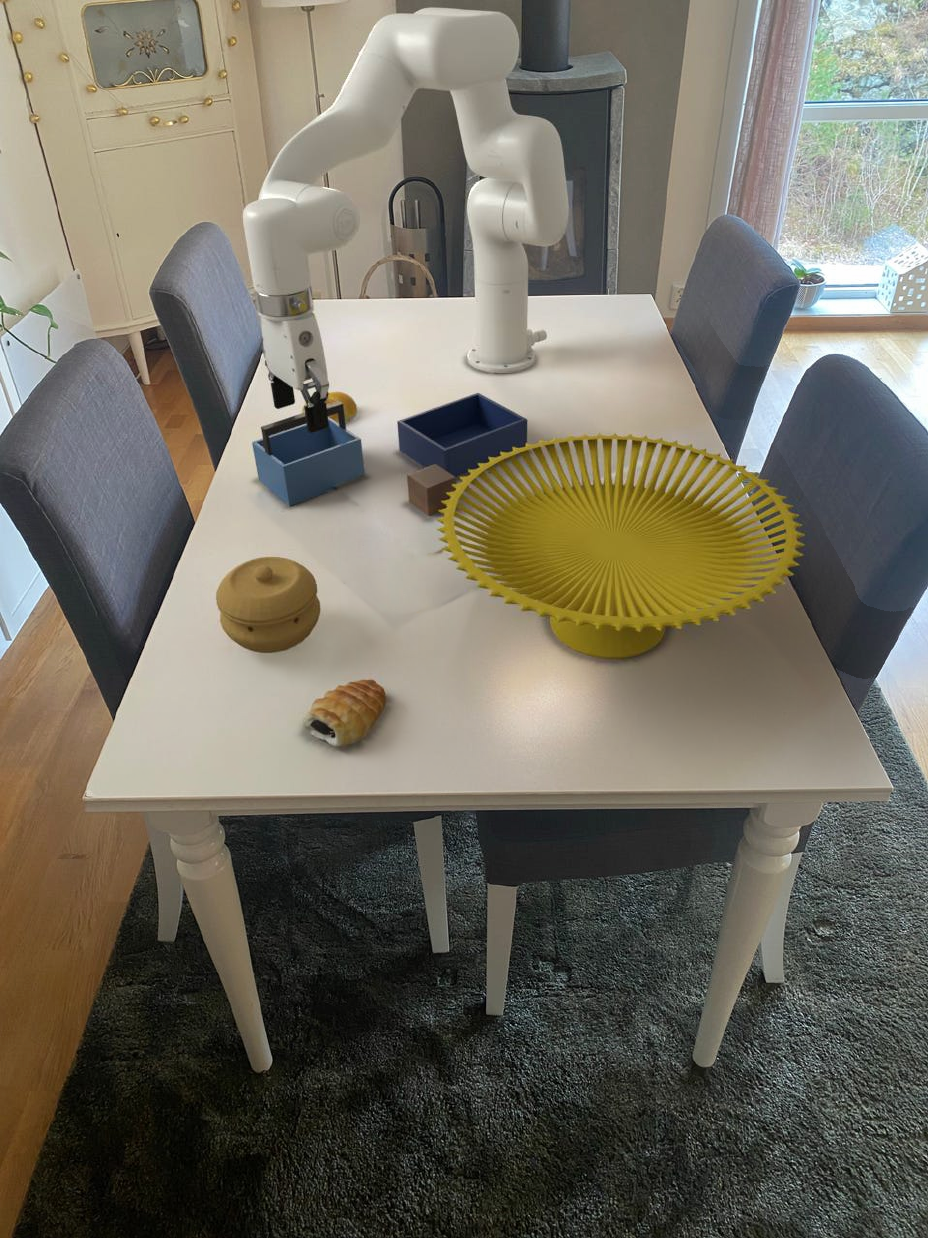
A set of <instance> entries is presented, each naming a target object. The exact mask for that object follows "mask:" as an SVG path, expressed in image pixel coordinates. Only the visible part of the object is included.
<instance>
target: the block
mask: <svg viewBox="0 0 928 1238" xmlns="http://www.w3.org/2000/svg"><path fill="white" fill-rule="evenodd" d="M406 481H407V482H406V483H407V493H408V503H410V504H411V505H413V506H414V507H415V508H417V509H418V510H419V511H421V513H423V514H425V515H427V517H430V516H433V515H435V514H436V513H440V512H439V511H438V510H442V509H445V508H447V506H446V505H445V504H443V503H442V502H441V501H445V500H449V499H450V498H451V497H450V496H449V495H447V493H446V492H454V491H455V490H456V488H454V487H453V486H452V484H457V477H455V476H453V475H452V474H450V473H449V472H447V471H446V470H444V469H443V468H441V467H439V466H438V465H436V464H434V465H431V466H429V467H426V468H425V467H424V468H421V469H418V470H415V471H413V472H411V473H408V474H406Z"/></svg>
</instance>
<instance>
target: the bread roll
mask: <svg viewBox="0 0 928 1238" xmlns="http://www.w3.org/2000/svg"><path fill="white" fill-rule="evenodd" d="M328 393H329V394H328V398H327V400H328V401H327V403H326V405H329V404H332V403H335V402H338V401H340V402H341V403H343V406H344V415H345V423H347V422H350V421H352V420H353V419H354V418H356V416H357V412H358V406H357V404H356V402H355V400H354V399H353V398H352V396H350V395H349V394H348V393H345V392H342V391H332V392H328ZM306 405H307V404H306V402H305V403H304V404H303V406H302V410H301V413H304V412H305V410H304V406H306ZM328 417H329V418H331V419H332V420H334V421H335V422H337V423H338V424H339V419H338V413H336V414H333V415H330V416H328Z"/></svg>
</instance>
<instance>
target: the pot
mask: <svg viewBox="0 0 928 1238" xmlns="http://www.w3.org/2000/svg"><path fill="white" fill-rule="evenodd" d="M215 593H216V594H215V600H216V606H217V609H218V611H219V612H220V616H219V622H220V625H221V628H222V630H223V632H224V633H225V634H226V635H227V637H228V638H230V640H231V641H233V642H234V643H236V644H237V645H239V646H240V647H242V648H243V649H245V650H248V651H250V652H254V653H259V654H275V653H280V652H284V651H287V650H291V649H292V648H295V647H296V646H298V645H300V644H301V643H303V642H304V641H305V640H306V639H307V638H308V637H309V636H310V635H311V633H312V632H313V630H314V628H315V627H316V625H317V623H318V621H319V618H320V614H321V601H320V598H319V597H318V584H317V580H316V578H315V576H314V574H313V573H312V572H311V571H310V570H309V569H308V568H307V567H305V566H304V565H302V564H301V563H299V562H297V561H296V560H292V559H290V558H286V557H282V556H281V557H280V556H263V557H257V558H254V559H250V560H247V561H245V562H243V563H240V564H238V565H237V566H235V567H234V568H232V569H231V570H230V571H229V572H228V573H227V574H226V575H225V576H224V577H223V579H221V582H220V583H219V585H218V587H217V589H216V592H215Z"/></svg>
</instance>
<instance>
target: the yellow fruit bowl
mask: <svg viewBox="0 0 928 1238" xmlns="http://www.w3.org/2000/svg"><path fill="white" fill-rule="evenodd" d="M585 440H586V441H587V445H588V450H589V455H590V462H591V470H592V483H591V480H590V476H589V472H588V467H587V461H586V456H585V450H584V441H585ZM598 440H602V449H603V483H602V480H601V474H600V464H599V463H600V462H599V453H598V449H599V448H598ZM613 440H616V444H617V445H616V446H617V447H616V448H617V449H616V470H615V479H614V483H613V479H612V447H613ZM628 441H631V451H630V459H629V465H628V471H627V476H626V479H625V482H624V467H625V466H624V465H625V457H626V449H627V444H628ZM569 442H572V443H573V446H574V449H575V453H576V457H577V461H578V465H579V470H580V476H581V481H582V482H580V479H579V476H578V473H577V471H576V468H575V465H574V461H573V458H572V457H573V456H572V453H571V448H570V444H569ZM643 442H646V446H645V452H644V457H643V461H642V465H641V469H640V472H639V476H638V479H637V482H636V484H635V476H636V471H637V464H638V460H639V455H640V451H641V447H642V444H643ZM555 444H558V445H559V448H560V450H561V452H562V455H563V458H564V460H565V463H566V467H567V470H568V473H569V477H570V480H571V484H570V482H569V480H568V477H567V475H566V473H565V472H564V469H563V466H562V463H561V461H560V458H559V455H558V451H557V448H556V445H555ZM658 444H659V445H660V444H661V447H660V449H659V450H660V451H659V454H658V456H657V460H656V463H655V466H654V468H653V471H652V474H651V476H650V479H649V481H648V483H647V485H646V480H647V477H648V472H649V468H650V465H651V462H652V459H653V456H654V453H655V450H656V449H657V448H656V447H657V446H658ZM544 446H545V449H546V451H547V453H548V455H549V457H550V459H551V461H552V464H553V466H554V468H555V471H556V473H557V476H558V479H559V481H560V483H559V481H558V480H557V478H556V476H554V474H553V471H552V469H551V468H550V466H549V464H548V461H547V459H546V456H545V455H544V452H543V449H542V447H544ZM672 447H673V448H675V450H674V452H673V455H672V458H671V460H670V463H669V465H668V467H667V469H666V470H665V471H666V472H665V473H664V476H663V477H662V479H661V481H660V484H659V485H658V487H657V488H656V486H657V482H658V480H659V477H660V474H661V472H662V469H663V467H664V464H665V462H666V460H667V457H668V455H669V453H670V451H671V450H672ZM529 450H532V452H533V454H534V455H535V457H536V459H537V460H538V462H539V464H540V466H541V467H542V470H543V472H544V473H545V475H546V477H547V479H548V481H549V484H550V485H549V484H548V483H547V481H546V480H545V479H544V478H543V476H542V474H541V472H540V471H539V468H538V467H537V466H536V464H535V462H534V461H533V459H532V456H531V455H530V452H529ZM687 451H689V455H688V456H687V458H686V461H685V462H684V464H683V466H682V468H681V470H680V471H679V473H678V475H677V476H676V478H675V479H674V481H673V483H672V484H671V486H670V487H669V488H668V489H667V487H668V485H669V483H670V480H671V479H672V476H673V474H674V472H675V471H676V469H677V467H678V465H679V463H680V461H681V459H682V457H683V456H684V454H685V453H686V452H687ZM500 454H501V456H499V457H496V458H494V457H488V458H489V460H490V462H488V463H478V465H479V466H480V468H477V469H475V470H469V469H468V471H469V472H468V473H469V475H467V476H459V479H460V480H461V482H460V483H456V484H452V486H453V487H454V488H456V490H455V491H454V492H446V493H447V495H449V496H450V497H451V498H450V499H449V500H445V501H441V502H442V503H443V504H445V505H446V506H447V508H445V509H442V510H438V511H439V512H438V513H441V514H443V515H444V516H443V517H440V518H436V521H437V522H439V523H440V524H442V525H443V526H441V527H439V528H436V530H437V531H438V532H440V533H442V534H444V536H442V537H440V538H438V540H439V541H441V542H443V543H444V544H445V543H446V544H448V545H446V546H445V547H443V548H442V550H444V551H445V552H449V553H451V554H452V555H451V556H450V557H448V558H447V560H449V561H452V562H456V563H459V565H458V566H457V567H455V569H456V570H459V571H463V572H467V575H466V576H465V577H464V579H466V580H472V581H476V582H478V584H477V585H476V588H479V589H486V590H489V591H490V593H489V595H488V596H489V597H497V598H504V599H505V601H504V604H505V605H518V606H520V607H521V608H520V610H519V611H520V612H532V611H533V612H537V613H538V615H537V617H538V618H544V617H549V624H550V628H551V630H552V632H553V634H554V636H555V637H556V638H557V639H558V640H559V641H560V642H561V643H562V644H564V645H565V646H566V647H568V648H569V649H572V650H573V651H575V652H577V653H580V654H583V655H585V656H587V657H588V656H589V657H593V658H599V659H607V660H609V659H611V660H615V659H627V658H632V657H636V656H639V655H641V654H645V653H646V652H648V651H650V650H652V649H654V648H655V647H656V646H657V645H658V644H659V643H660V642H661V640H662V639H663V637H664V635H665V632H666V629H667V627H672V628H675V629H678V630H679V629H680V630H681V629H683V625H684V624H690V625H691V624H692V625H695V626H701V625H702V622H701V621H703V620H706V621H714V622H719V621H720V619H719V616H720V615H725V616H736V612H735V610H751V609H752V607H751V606H750V603H751V602H753V603H754V602H765V599H764V597H762V595H772V594H777V591H776V590H775V589H774V588H773V587H775V586H782V585H786V584H787V583H786V582H785V581H784V580H782V579H783V578H787V577H791V576H794V575H795V573H793V572H792V571H790V570H789V568H793V567H797V566H800V563H798V562H796V561H795V560H794V559H796V558H800V557H802V556H804V554H803V553H802V552H799V551H798V550H796V549H798V548H801V547H803V546H805V545H806V544H805V543H802V542H800V541H798V539H799V538H803V537H805V536H806V534H805V533H802V532H800V531H798V530H796V529H798V528H800V527H802V526H803V524H802V523H798V522H797V521H794V520H795V519H796V518H798V517H799V516H800V514H798V513H793V512H790V511H789V510H791V509H792V508H793V507H794V505H793V504H787V503H785V502H783V501H784V500H785V499H787V497H788V496H787V495H780V494H777V493H776V492H777V491H778V489H779V488H778V487H772V486H768V485H767V484H768V483H769V481H770V479H761V478H758V477H757V475H758V473H759V472H756V471H755V472H751V471H748V470H746V468H747V465H737V464H734V463H733V462H734V459H725V458H723V457H721V456H722V455H721V453H714V454H713V453H709V452H707V448H703V449H697V448H694V447H693V444H692V443H690V444H687V445H684V444H683V445H682V444H679V443H678V440H675V441H666V440H663V437H660V438H657V439H653V438H649V437H648V435H644V436H641V437H637V436H633V435H632V434H631V433H629V434H627V435H626V436H624V435H623V436H621V435H618V434H616V433H615V432H614V433H613V434H612V435H606V434H605V435H604V434H601V433H600V432H598V434H596V435H588V434H585V433H583V434H582V436H572V435H571V434H568V436H567V437H566V438H558V437H555V436H554V437H553V439H552V440H543V439H539V440H538V442H537V443H533V444H532V443H528V442H527V443H526V447H522V448H515V447H513V451H512V452H508V453H505V452H500ZM517 454H519V455H520V456H521V458H522V460H524V462H525V464H526V465H527V468H529V470H530V472H531V473H532V474H533V476H534V478H535V480H536V482H537V483H538V484H539V485H537V484H536V483H535V482H534V480H533V479H532V478H531V477H530V475H529V474H528V472H527V471H526V470H525V468H524V466H523V465H522V463H521V462H520V460H519V459H518V457H517ZM700 455H701V456H703V457H702V458H701V460H700V462H699V464H698V466H697V467H696V469H695V470H694V471H693V473H692V475H690V477H689V479H688V480H687V481H686V483H685V484H684V485H683V487H682V488H680V490H679V491H678V489H679V487H680V486H681V484H682V482H683V481H684V479H685V477H686V476H687V474H688V472H689V470H691V468H692V467H693V464H694V463H695V462H696V460H697V459H698V458H699V456H700ZM505 459H508V460H509V462H510V463H511V465H513V467H514V468H515V469H516V470H517V472H518V473H519V474H520V476H521V478H522V479H523V480H524V482H525V483H526V484H527V485H528V487H529V488H530V489H528V488H527V487H526V486H525V485H524V484H523V483H522V481H521V480H520V479H519V477H517V475H515V473H514V472H513V470H512V469H511V467H509V465H508V464H507V462H506V461H505ZM713 460H715V461H716V462H715V464H714V465H713V467H712V468H711V469H710V471H709V472H708V473H707V474H706V476H705V477H704V479H703V480H702V481H701V482H700V483H699V484H698V486H697V487H696V488H695V489H694V490H693V491H692V492H690V490H691V488H692V487H693V486H694V484H695V483H696V482H697V481H698V479H699V477H700V476H701V475H702V474H703V472H704V471H705V470H706V468H707V467H708V466H709V465H710V464H711V462H712V461H713ZM495 465H497V466H499V468H500V469H501V470H502V471H503V472H504V473H505V475H506V476H507V477H508V478H509V479H510V480H511V481H512V483H514V485H515V486H516V487H517V489H518V490H519V491H518V490H516V488H514V487H513V486H512V485H511V483H510V482H509V481H507V480H506V479H505V477H504V476H503V475H502V474H501V473H500V472H499V470H498V469H497V468H496V467H495ZM725 466H728V468H727V469H726V470H725V471H724V473H723V474H722V475H721V476H720V477H719V478H718V479H717V481H716V482H714V484H712V486H711V487H710V488H709V489H708V490H707V491H706V492H705V493H704V494H703V495H701V496H700V494H701V493H702V491H703V490H705V488H706V487H707V486H708V485H709V483H711V481H712V480H713V479H714V478H715V476H717V474H718V473H719V472H720V471H721V470H723V468H724V467H725ZM486 470H487V471H488V473H490V474H491V475H492V476H493V477H494V478H495V479H496V480H497V481H498V482H499V483H500V484H501V485H502V486H503V487H504V488H505V489H506V490H507V491H508V492H509V493H510V494H511V496H513V497H511V496H510V495H509V494H508V493H506V492H505V491H504V490H503V489H501V487H499V486H498V485H497V483H495V482H494V481H493V480H492V479H491V478H490V477H489V476H488V474H487V473H486V472H485V471H486ZM737 472H738V473H740V474H739V475H738V476H737V477H736V478H735V479H734V480H733V481H732V482H731V483H730V484H729V485H728V486H727V487H726V488H724V490H722V491H721V492H720V493H719V494H718V495H717V496H716V497H714V498H712V499H711V500H709V499H710V498H711V497H712V496H713V495H714V494H715V493H716V492H717V491H718V490H719V489H720V488H721V487H722V486H723V485H724V484H725V483H726V482H728V480H730V479H731V477H732V476H734V475H735V474H736V473H737ZM477 477H478V478H479V479H481V480H482V481H483V482H484V483H486V484H487V486H489V488H491V489H492V490H493V491H495V493H497V494H498V495H499V496H500V498H499V497H498V496H497V495H496V494H494V493H493V492H491V491H490V490H488V488H486V486H484V485H483V484H482V483H481V482H480V481H479V480H477ZM747 479H749V480H750V481H748V483H747V484H746V485H745V486H743V487H742V488H741V489H739V491H737V492H736V493H735V494H734V495H732V496H731V497H730V498H729V499H727V500H726V501H724V502H723V503H721V504H720V505H718V504H719V503H720V502H721V501H722V500H723V499H724V498H726V497H727V496H728V495H729V494H730V493H731V492H733V491H734V490H735V489H736V488H738V486H740V485H741V484H742V483H744V482H745V481H746V480H747ZM581 483H582V484H581ZM469 484H470V485H472V486H474V487H475V488H476V489H478V490H479V491H480V492H481V493H483V494H484V495H485V496H486V497H488V498H489V499H490V500H491V501H492V502H494V503H495V504H496V505H497V506H496V505H495V504H493V503H491V502H490V501H488V500H487V499H485V498H484V497H482V495H480V494H478V493H477V492H476V491H475V490H474V489H472V488H471V487H470V486H469ZM645 485H646V487H645ZM539 486H540V487H539ZM758 486H759V487H760V488H759V489H758V490H757V491H756V492H754V493H753V494H751V495H750V496H748V498H746V499H745V500H743V501H742V502H741V503H738V505H735V506H734V507H732V508H730V509H728V508H729V507H730V506H732V505H733V504H734V503H736V502H737V501H738V500H739V499H741V498H743V496H745V495H747V494H748V493H749V492H750V491H752V490H753V489H755V488H756V487H758ZM530 490H531V491H530ZM666 490H667V491H666ZM677 491H678V492H677ZM464 492H465V493H467V494H468V495H469V496H471V497H472V498H474V499H475V500H476V501H477V502H480V504H482V505H483V506H485V507H486V508H488V509H489V510H490V511H489V510H488V509H486V508H484V507H482V506H481V505H479V504H478V503H476V502H474V501H473V500H471V499H470V498H469V497H467V496H466V495H464V494H463V493H464ZM520 492H521V493H522V494H521V493H520ZM689 492H690V493H689ZM688 493H689V494H688ZM687 494H688V495H687ZM765 495H768V496H767V497H766V498H764V499H762V500H761V501H760V502H758V503H757V504H755V505H753V506H752V507H750V508H749V509H747V510H745V511H743V512H742V513H739V514H737V513H738V512H740V511H741V510H743V509H744V508H745V507H748V506H749V505H750V504H752V503H753V502H755V501H756V500H757V499H759V498H761V497H763V496H765ZM698 496H700V497H699V498H698ZM501 498H502V499H503V500H502V499H501ZM459 500H460V501H462V502H463V503H465V504H467V505H469V506H470V507H472V508H474V509H475V510H477V511H478V512H479V513H481V514H483V515H481V514H478V513H476V512H474V511H472V510H471V509H469V508H468V507H466V506H464V505H463V504H461V503H460V502H459ZM708 500H709V501H708ZM706 502H707V503H706ZM772 503H774V505H773V506H772V507H770V508H768V509H766V510H764V511H762V512H761V513H759V514H758V515H756V516H754V517H751V518H749V519H747V520H743V519H745V518H747V517H749V516H750V515H752V514H754V513H756V512H758V511H759V510H761V509H763V508H765V507H766V506H768V505H770V504H772ZM717 505H718V506H717ZM498 506H499V507H498ZM715 506H716V507H715ZM726 509H728V510H726ZM457 510H460V511H461V512H463V513H464V514H467V515H468V516H470V517H471V518H473V519H475V520H477V521H479V522H480V523H479V522H477V521H475V520H473V519H471V518H468V517H466V516H465V515H463V514H461V513H460V512H458V511H457ZM725 510H726V511H725ZM777 512H779V513H780V514H778V515H775V516H774V517H772V518H770V519H768V520H766V521H764V522H762V523H759V524H757V525H753V526H751V527H750V525H752V524H755V523H756V522H759V521H761V520H762V519H764V518H767V517H769V516H771V515H773V514H775V513H777ZM735 514H737V515H735ZM733 515H735V516H733ZM732 516H733V517H732ZM455 518H456V519H459V520H461V521H463V522H465V523H467V524H469V525H471V526H472V527H475V528H477V529H474V528H472V527H470V526H467V525H465V524H464V523H461V522H459V521H457V520H455ZM742 520H743V521H742ZM740 521H742V522H740ZM782 521H783V523H782V524H780V525H778V526H775V527H773V528H771V529H769V530H765V531H763V532H760V533H757V534H753V533H756V532H758V531H761V530H762V529H764V528H766V527H770V526H772V525H774V524H776V523H778V522H779V523H780V522H782ZM739 522H740V523H739ZM748 526H749V528H747V527H748ZM456 528H458V529H461V530H463V531H465V532H467V533H469V534H472V535H469V534H467V533H463V532H461V531H460V530H457V529H456ZM784 530H785V532H784V533H782V534H779V535H776V536H773V537H770V538H767V539H764V538H765V537H768V536H770V535H773V534H776V533H779V532H782V531H784ZM751 534H753V535H751ZM473 535H474V536H473ZM749 535H750V536H749ZM458 537H461V538H463V539H466V540H468V541H471V542H474V543H476V544H473V543H469V542H467V541H464V540H462V539H459V538H458ZM762 538H763V539H764V540H761V539H762ZM759 539H760V541H757V540H759ZM782 540H785V542H783V543H780V544H777V545H774V546H771V547H767V548H763V549H762V548H761V547H764V546H767V545H770V544H773V543H776V542H779V541H782ZM755 541H756V542H755ZM752 542H753V543H752ZM462 546H463V547H466V548H469V549H472V550H468V549H465V548H463V547H462ZM758 548H761V549H758ZM473 550H475V551H473ZM779 550H783V551H782V552H778V553H774V554H771V555H766V556H761V555H763V554H767V553H771V552H775V551H779ZM759 555H760V556H759ZM470 556H472V557H476V558H480V559H475V558H471V557H470ZM756 556H759V557H756ZM482 559H483V560H482ZM776 559H778V561H776V562H771V563H766V564H759V563H763V562H767V561H771V560H776ZM753 564H755V565H753ZM756 564H757V565H756ZM477 565H480V566H483V567H480V566H477ZM771 568H774V569H772V570H767V571H762V572H760V571H759V570H764V569H771ZM754 571H759V572H754ZM487 573H489V574H492V575H489V574H487ZM760 577H761V578H762V577H764V578H763V579H755V580H754V579H752V578H760ZM751 579H752V580H751ZM749 585H754V586H753V587H751V586H750V587H745V586H749ZM743 586H744V587H743ZM738 593H740V594H738ZM727 599H728V600H727ZM713 604H714V605H713Z"/></svg>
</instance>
